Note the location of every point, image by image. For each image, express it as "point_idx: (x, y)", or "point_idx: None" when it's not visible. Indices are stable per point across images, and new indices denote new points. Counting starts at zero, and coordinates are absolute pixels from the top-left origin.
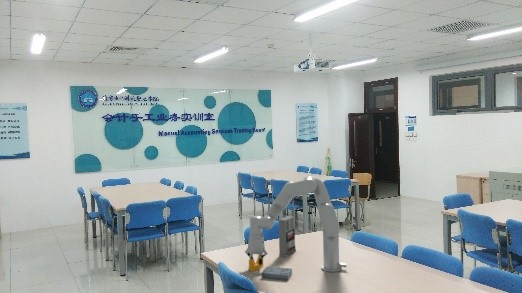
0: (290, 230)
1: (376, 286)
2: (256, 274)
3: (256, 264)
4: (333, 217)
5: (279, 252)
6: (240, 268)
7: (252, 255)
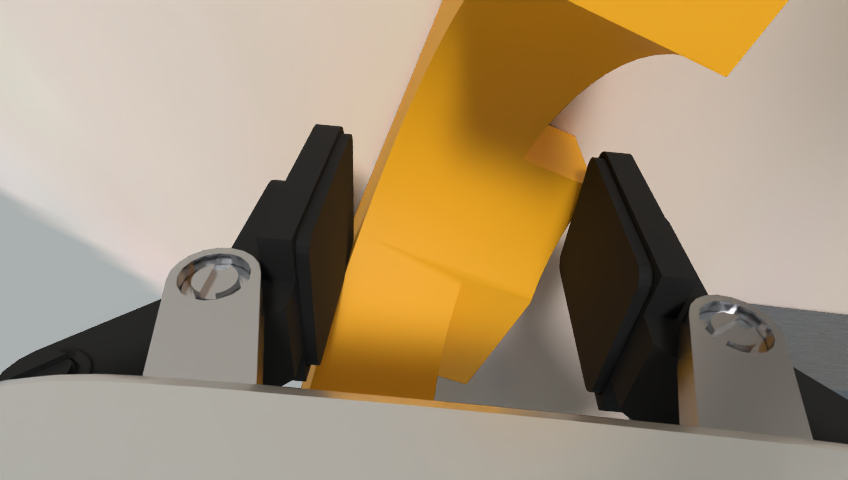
0: None
1: None
2: (520, 395)
3: (492, 300)
4: None
5: None
6: (128, 182)
7: (259, 302)
